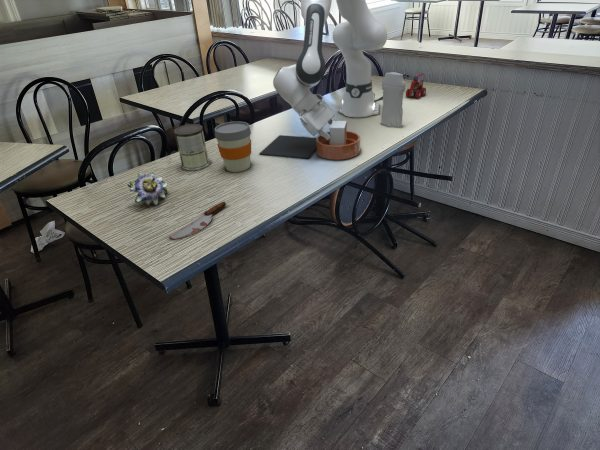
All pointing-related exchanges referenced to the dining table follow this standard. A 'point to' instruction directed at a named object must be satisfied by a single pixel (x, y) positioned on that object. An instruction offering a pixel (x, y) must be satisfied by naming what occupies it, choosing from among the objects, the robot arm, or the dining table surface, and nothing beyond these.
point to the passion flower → (148, 188)
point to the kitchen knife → (198, 222)
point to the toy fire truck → (416, 87)
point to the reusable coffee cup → (234, 145)
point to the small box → (338, 133)
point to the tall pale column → (392, 99)
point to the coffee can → (191, 146)
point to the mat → (291, 147)
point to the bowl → (339, 147)
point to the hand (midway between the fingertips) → (333, 134)
